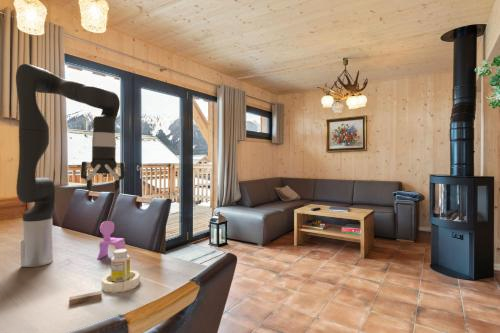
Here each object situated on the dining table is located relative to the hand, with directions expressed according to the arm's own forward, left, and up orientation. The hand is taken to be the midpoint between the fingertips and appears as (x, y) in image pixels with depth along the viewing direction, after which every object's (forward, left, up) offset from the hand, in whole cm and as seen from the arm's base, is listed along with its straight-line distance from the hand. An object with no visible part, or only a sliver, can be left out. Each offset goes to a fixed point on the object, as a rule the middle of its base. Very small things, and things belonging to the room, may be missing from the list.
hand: (103, 190), depth 105 cm
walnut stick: (0, -23, -30) cm, 38 cm away
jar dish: (+8, -14, -29) cm, 33 cm away
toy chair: (0, +15, -29) cm, 33 cm away
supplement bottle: (+8, -14, -29) cm, 33 cm away
